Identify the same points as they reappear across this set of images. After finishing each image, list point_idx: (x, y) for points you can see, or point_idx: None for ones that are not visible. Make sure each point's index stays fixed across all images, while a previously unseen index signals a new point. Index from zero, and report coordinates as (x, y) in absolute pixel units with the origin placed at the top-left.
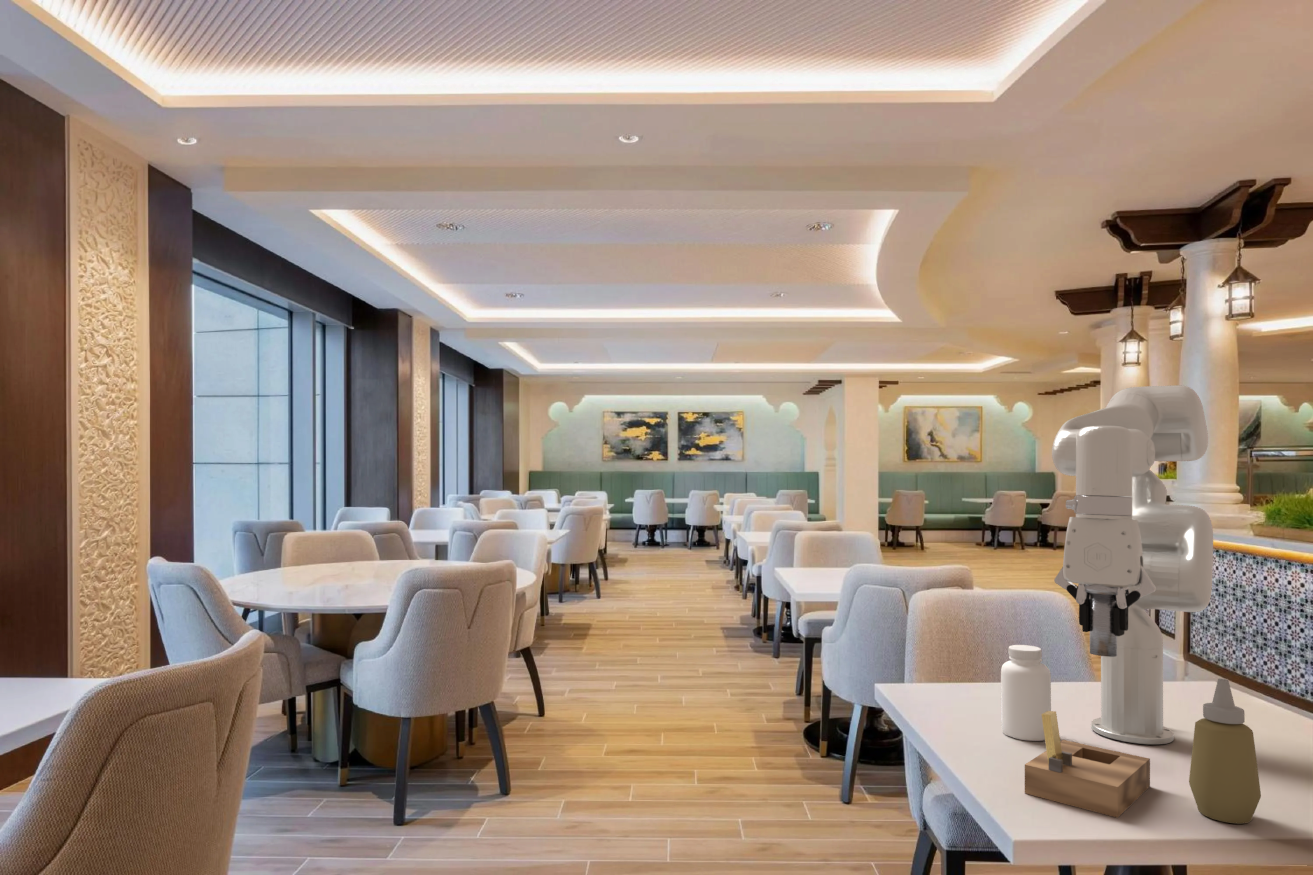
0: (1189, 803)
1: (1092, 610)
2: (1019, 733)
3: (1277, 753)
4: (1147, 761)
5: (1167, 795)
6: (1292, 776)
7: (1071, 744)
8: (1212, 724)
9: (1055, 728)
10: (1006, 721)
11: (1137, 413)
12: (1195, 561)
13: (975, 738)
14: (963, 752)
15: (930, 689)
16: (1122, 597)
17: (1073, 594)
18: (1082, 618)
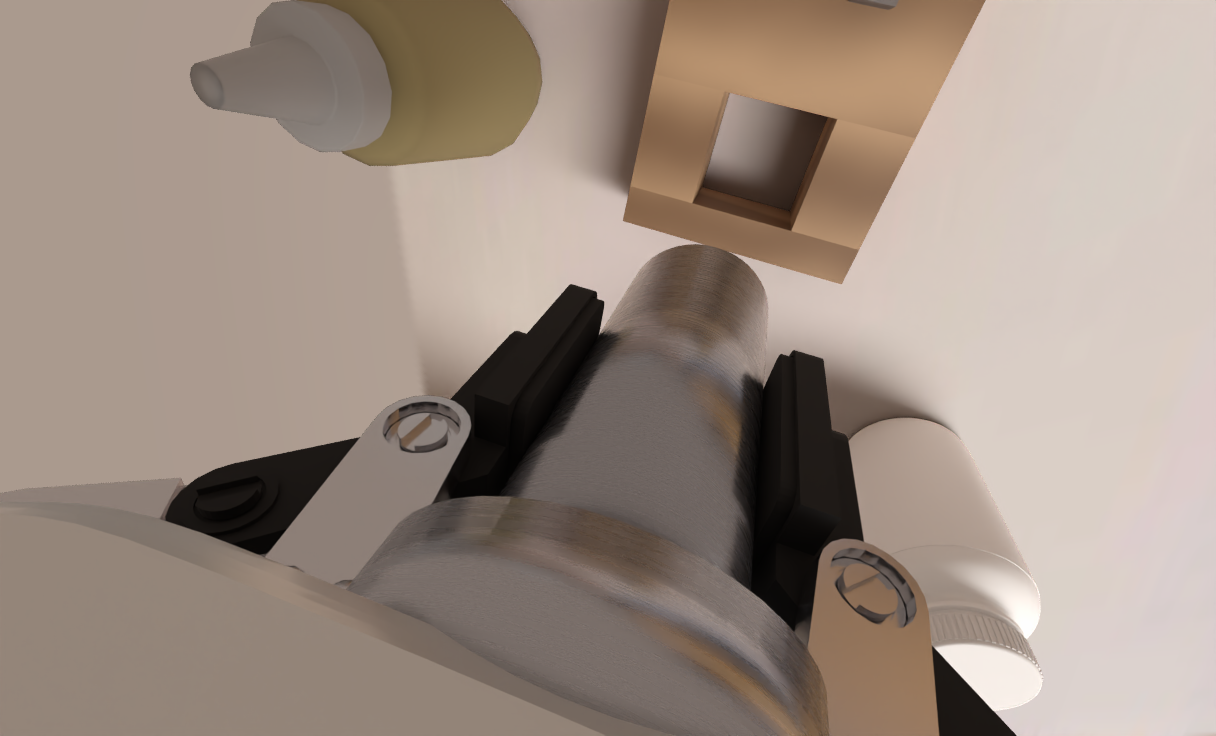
0: (562, 123)
1: (734, 450)
2: (931, 426)
3: None
4: (628, 195)
5: (605, 156)
6: (435, 389)
7: (821, 246)
8: (363, 19)
9: None
10: (972, 460)
11: None
12: None
13: (1068, 390)
14: (1158, 242)
15: (1108, 710)
16: (366, 484)
17: (965, 708)
18: (829, 413)
